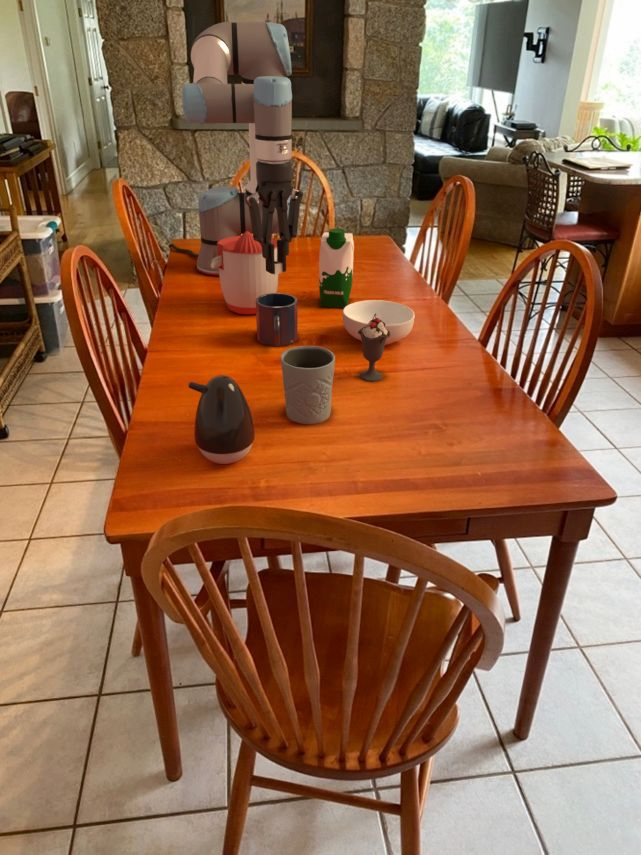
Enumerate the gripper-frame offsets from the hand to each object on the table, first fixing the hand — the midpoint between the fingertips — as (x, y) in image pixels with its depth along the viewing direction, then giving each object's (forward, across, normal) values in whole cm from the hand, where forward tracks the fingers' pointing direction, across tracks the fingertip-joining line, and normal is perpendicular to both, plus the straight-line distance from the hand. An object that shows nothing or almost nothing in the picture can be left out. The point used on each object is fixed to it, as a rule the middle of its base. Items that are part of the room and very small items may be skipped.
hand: (276, 270), depth 150 cm
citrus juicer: (+17, +3, +21) cm, 27 cm away
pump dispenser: (+17, -33, -39) cm, 54 cm away
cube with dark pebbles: (+1, 0, 0) cm, 1 cm away
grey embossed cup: (+17, -13, -34) cm, 40 cm away
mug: (+16, -1, -2) cm, 17 cm away
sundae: (+17, +7, -28) cm, 33 cm away
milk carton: (+17, +25, +12) cm, 32 cm away
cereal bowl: (+17, +20, -13) cm, 29 cm away
